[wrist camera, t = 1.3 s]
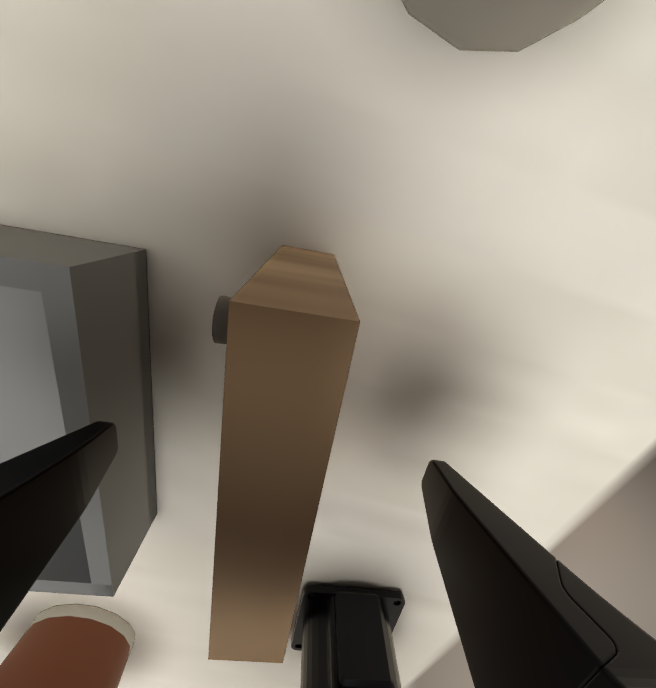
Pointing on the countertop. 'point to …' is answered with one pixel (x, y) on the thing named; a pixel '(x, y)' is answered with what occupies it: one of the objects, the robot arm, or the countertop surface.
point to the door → (275, 442)
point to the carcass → (80, 387)
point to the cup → (497, 20)
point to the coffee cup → (70, 650)
